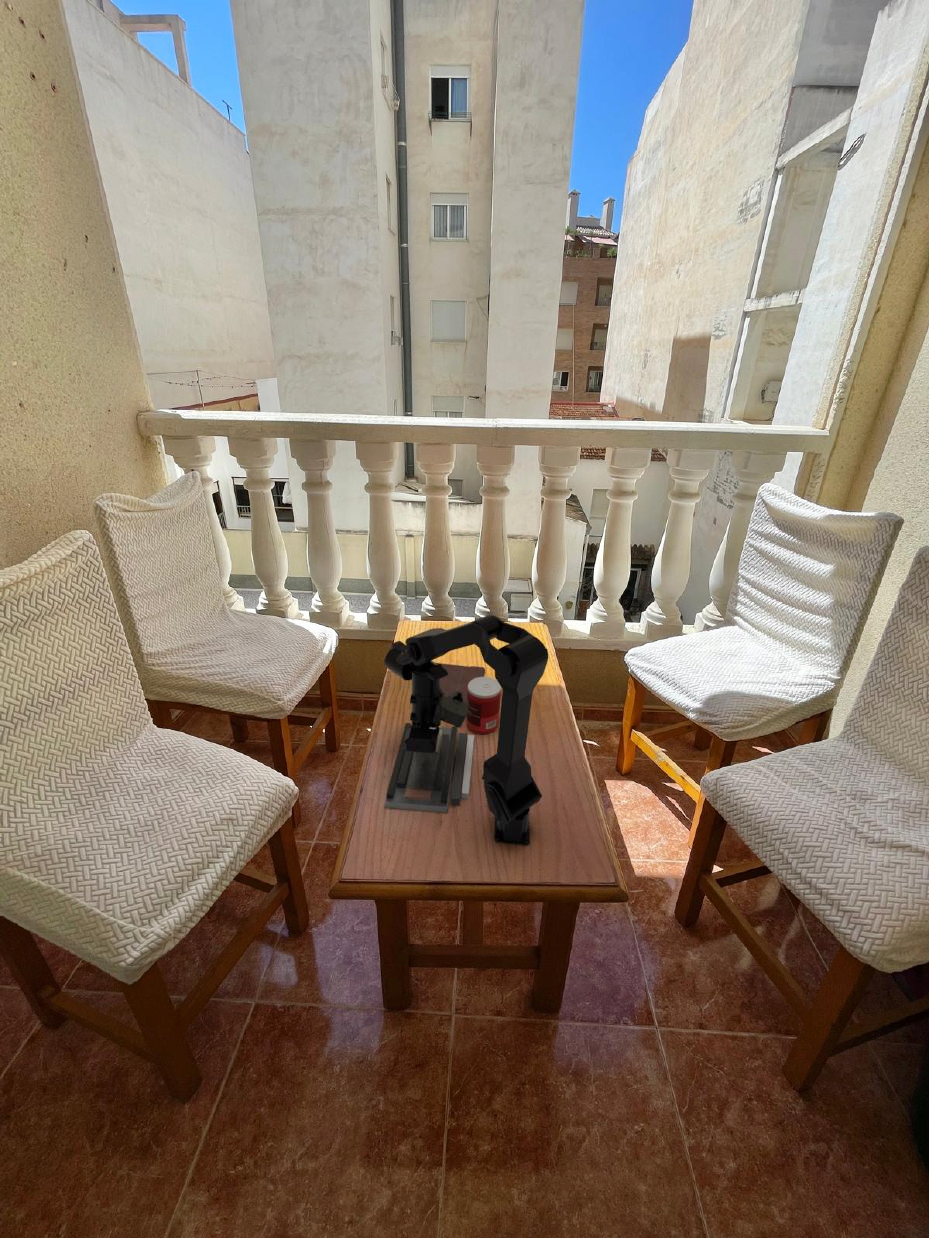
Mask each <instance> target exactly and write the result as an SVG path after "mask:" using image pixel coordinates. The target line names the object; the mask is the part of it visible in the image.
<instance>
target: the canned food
mask: <svg viewBox="0 0 929 1238" xmlns="http://www.w3.org/2000/svg"><path fill="white" fill-rule="evenodd" d="M501 700H502V687H501V686H500V684H499V683H498V681H497V680H496V678H492V677H489V676H484V677H478V678H475V679H473V680H471V681H470V682H469V684H468V689H467V705H468V711H467V716H466V718H465V722H466V726H467V728H468V730H469V731H471V732H472V733H474V734H479V735H486V734H490V733H493V732H494V731H495V730H497V728H498V727H499V723H500V712H501Z"/></svg>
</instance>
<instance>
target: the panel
mask: <svg viewBox="0 0 929 1238" xmlns="http://www.w3.org/2000/svg"><path fill="white" fill-rule="evenodd" d="M411 725H412V722H406V723H405V725H404V728H403V733H402V736H401V739H400V744H399V747H398V750H397V753H396V757H395V761H394V765H393V769H392V772H391V776H390V779H389V783H388V785H387V790H386V796H385V802H384V803H385V804H384V805H385V806H384V807H385V808H386V809H399V810H409V811H422V812H434V813H435V812H436V813H445V814H446V813H447V812H448V806H449V802H450V801H449V799H450V794H451V785H452V780H453V773H454V765H455V763H454V762H455V758H456V757H455V756H456V751H457V743H458V736H459V731H458V730H459V728H457V727H455V726H454V725H452V726H451V727H450V726H449V727H448V726H447V727H446V726H441V734H440V745H439V751H438V752H434V753H424V752H412V751H406V750H404V739H405V735H406V731H407V730H408V729H410V727H411Z"/></svg>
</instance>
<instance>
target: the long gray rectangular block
mask: <svg viewBox="0 0 929 1238" xmlns="http://www.w3.org/2000/svg"><path fill="white" fill-rule="evenodd" d="M474 743H475V734H473V735H472V734H468V733H467V732H458V738H457V746H456V753H455V756H456V757H455V761H454V762H455V763H454V768H453V776H452V784H451V785H452V787H451V791H450V803H449V804H450V806H457V807H460V805H461V799H465V800H466V799H467V800H469V797H470V788H471V787H470V785H471V775H472V763H473V756H474V754H473V753H474Z"/></svg>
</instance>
